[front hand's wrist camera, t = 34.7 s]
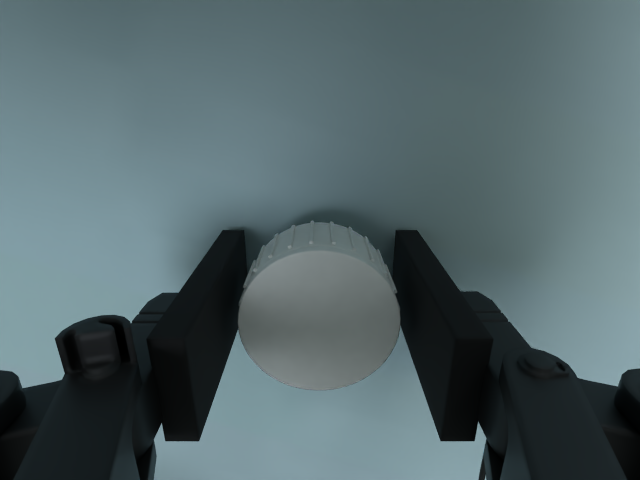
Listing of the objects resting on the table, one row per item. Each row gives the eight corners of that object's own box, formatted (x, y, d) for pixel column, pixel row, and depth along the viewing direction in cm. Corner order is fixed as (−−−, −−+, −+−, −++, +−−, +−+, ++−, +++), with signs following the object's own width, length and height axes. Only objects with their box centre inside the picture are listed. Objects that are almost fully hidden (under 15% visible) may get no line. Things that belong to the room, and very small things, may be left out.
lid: (409, 242, 12) (429, 275, 10) (361, 357, 14) (369, 408, 12) (269, 201, 12) (257, 226, 10) (236, 324, 14) (219, 371, 11)
